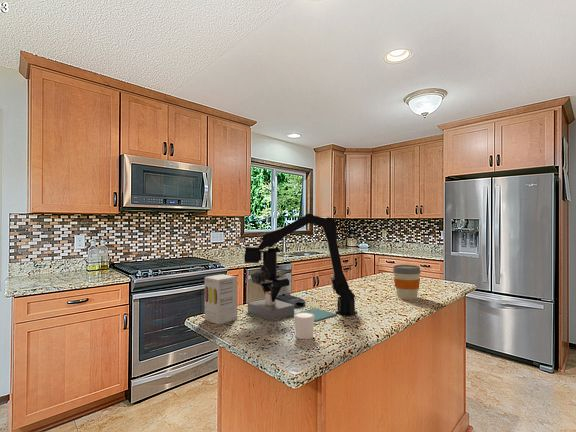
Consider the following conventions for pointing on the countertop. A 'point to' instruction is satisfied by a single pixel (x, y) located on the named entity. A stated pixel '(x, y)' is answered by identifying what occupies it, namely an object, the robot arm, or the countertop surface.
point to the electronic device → (290, 299)
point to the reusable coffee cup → (406, 281)
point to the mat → (319, 314)
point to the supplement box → (220, 298)
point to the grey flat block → (271, 309)
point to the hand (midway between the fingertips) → (270, 300)
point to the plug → (269, 298)
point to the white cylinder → (304, 325)
